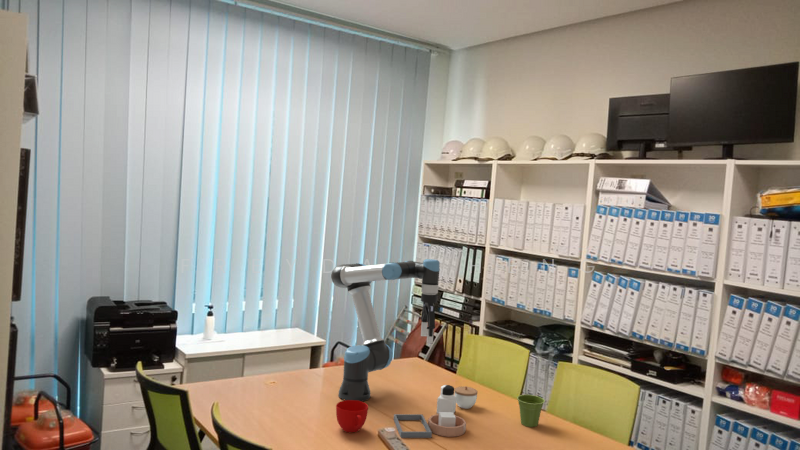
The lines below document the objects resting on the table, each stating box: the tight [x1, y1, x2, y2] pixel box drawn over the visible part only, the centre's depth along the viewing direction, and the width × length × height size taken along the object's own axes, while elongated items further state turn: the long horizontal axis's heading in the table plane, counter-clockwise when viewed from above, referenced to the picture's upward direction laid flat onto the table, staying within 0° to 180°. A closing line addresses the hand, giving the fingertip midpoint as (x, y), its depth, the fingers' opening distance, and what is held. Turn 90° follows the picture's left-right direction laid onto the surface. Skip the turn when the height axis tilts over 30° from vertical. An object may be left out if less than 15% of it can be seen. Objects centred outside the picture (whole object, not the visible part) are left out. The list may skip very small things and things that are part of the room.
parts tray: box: [393, 413, 433, 439], centre depth 243 cm, size 13×20×2 cm, turn 9°
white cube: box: [438, 412, 456, 427], centre depth 243 cm, size 6×6×6 cm
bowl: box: [427, 413, 467, 438], centre depth 243 cm, size 15×15×4 cm
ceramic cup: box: [335, 400, 369, 433], centre depth 235 cm, size 13×17×10 cm
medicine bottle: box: [436, 384, 457, 414], centre depth 264 cm, size 7×7×12 cm
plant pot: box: [516, 394, 546, 428], centre depth 255 cm, size 12×12×11 cm
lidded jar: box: [454, 386, 478, 410], centre depth 273 cm, size 11×11×9 cm
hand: (426, 339), depth 266 cm, fingers open, 13 cm apart
